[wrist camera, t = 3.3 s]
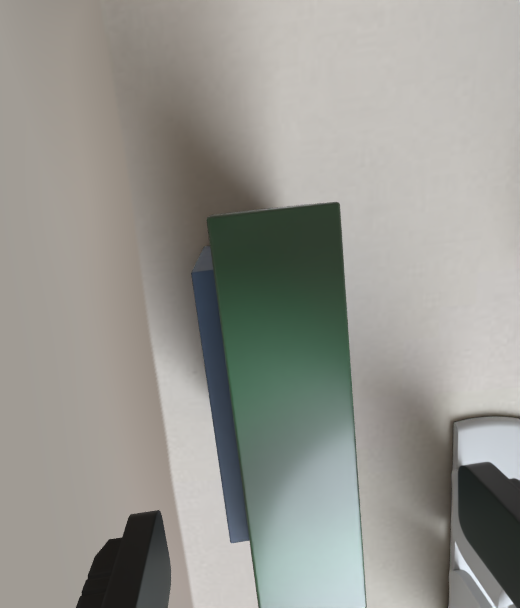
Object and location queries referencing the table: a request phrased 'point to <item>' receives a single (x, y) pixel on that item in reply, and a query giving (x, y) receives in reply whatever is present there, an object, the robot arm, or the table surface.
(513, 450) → the ornament
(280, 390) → the green bar
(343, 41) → the table surface
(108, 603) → the robot arm
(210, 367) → the riser block
